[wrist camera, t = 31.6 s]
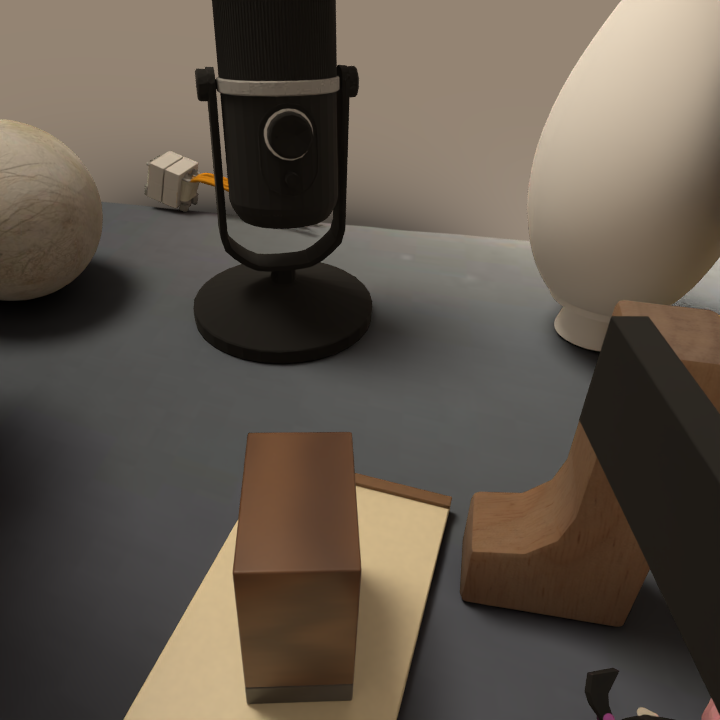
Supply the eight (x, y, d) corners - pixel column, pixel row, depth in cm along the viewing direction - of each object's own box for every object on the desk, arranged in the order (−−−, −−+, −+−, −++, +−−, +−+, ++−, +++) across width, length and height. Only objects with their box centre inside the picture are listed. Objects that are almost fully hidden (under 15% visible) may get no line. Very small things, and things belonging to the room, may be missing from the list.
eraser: (246, 704, 32) (232, 573, 26) (257, 563, 39) (247, 432, 33) (352, 701, 33) (361, 570, 27) (345, 561, 39) (351, 431, 33)
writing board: (75, 819, 29) (69, 806, 28) (274, 466, 46) (273, 452, 45) (345, 925, 26) (346, 914, 26) (449, 510, 44) (452, 496, 43)
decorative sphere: (149, 272, 66) (124, 114, 57) (29, 353, 55) (-26, 172, 46) (30, 238, 71) (-10, 87, 62) (-103, 306, 59) (-176, 133, 50)
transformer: (307, 217, 72) (325, 199, 76) (142, 148, 74) (167, 134, 78) (296, 263, 76) (313, 244, 80) (140, 196, 78) (163, 180, 81)
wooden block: (458, 603, 38) (516, 337, 28) (462, 539, 42) (514, 283, 31) (623, 631, 37) (749, 367, 27) (612, 563, 41) (720, 307, 30)
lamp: (473, 338, 59) (560, -174, 38) (543, 269, 70) (641, -160, 49) (659, 411, 52) (888, -165, 32) (704, 321, 63) (898, -152, 42)
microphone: (200, 374, 54) (146, -77, 36) (190, 276, 66) (146, -96, 48) (392, 352, 57) (429, -69, 40) (349, 263, 70) (362, -89, 52)
